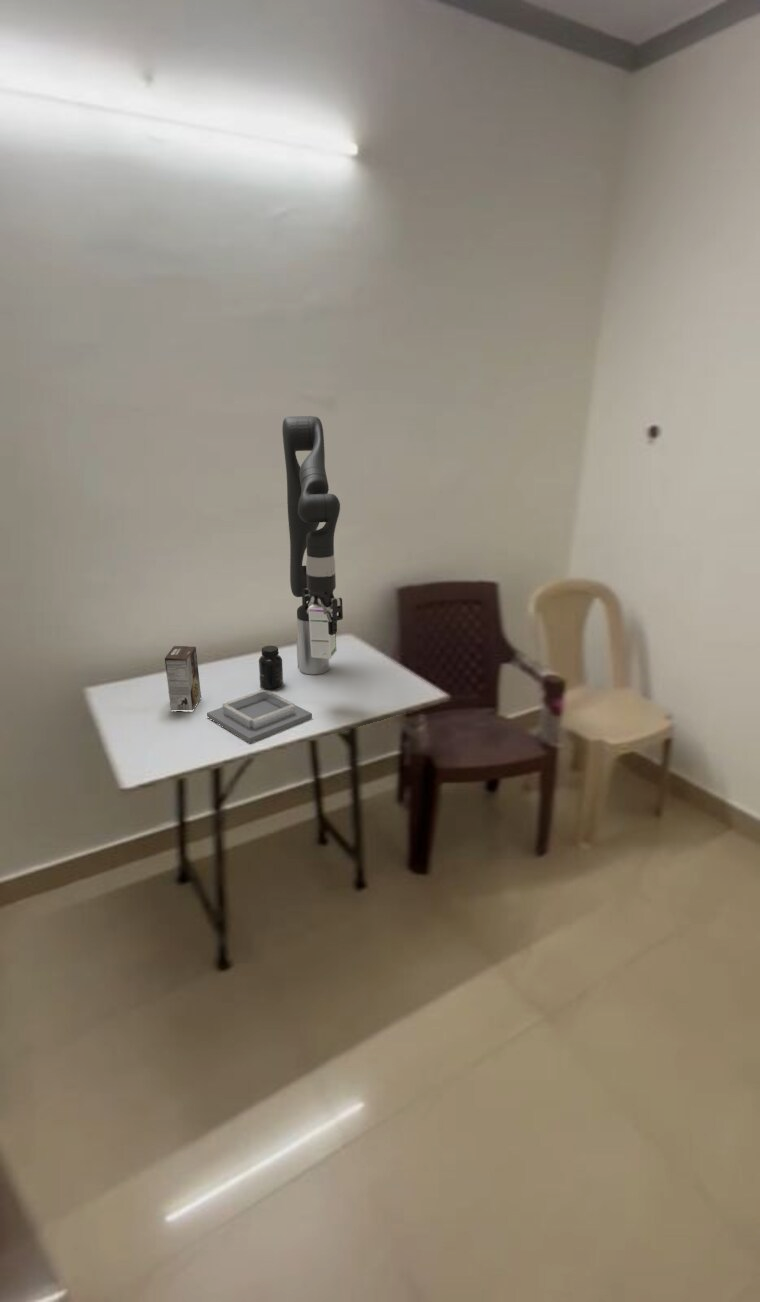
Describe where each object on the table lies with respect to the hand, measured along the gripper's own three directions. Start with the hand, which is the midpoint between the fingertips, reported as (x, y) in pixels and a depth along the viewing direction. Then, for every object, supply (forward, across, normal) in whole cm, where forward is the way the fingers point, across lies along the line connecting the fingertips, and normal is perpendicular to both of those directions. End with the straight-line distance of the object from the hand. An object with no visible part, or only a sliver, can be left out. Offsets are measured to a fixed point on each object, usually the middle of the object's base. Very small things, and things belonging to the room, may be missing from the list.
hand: (322, 630), depth 195 cm
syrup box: (+7, 0, 0) cm, 7 cm away
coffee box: (+22, -27, -28) cm, 45 cm away
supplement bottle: (+23, -21, -3) cm, 31 cm away
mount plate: (+22, -6, -18) cm, 29 cm away
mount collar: (+21, -6, -18) cm, 28 cm away
